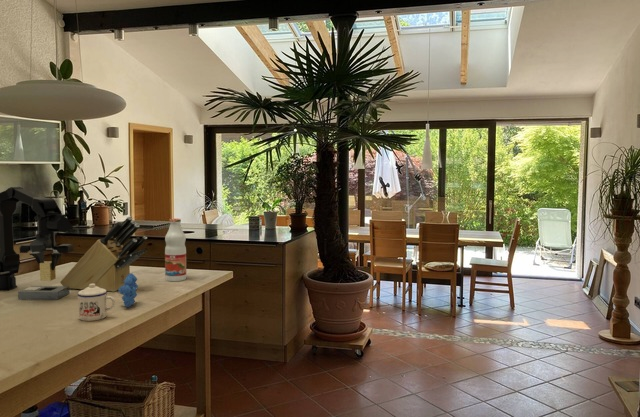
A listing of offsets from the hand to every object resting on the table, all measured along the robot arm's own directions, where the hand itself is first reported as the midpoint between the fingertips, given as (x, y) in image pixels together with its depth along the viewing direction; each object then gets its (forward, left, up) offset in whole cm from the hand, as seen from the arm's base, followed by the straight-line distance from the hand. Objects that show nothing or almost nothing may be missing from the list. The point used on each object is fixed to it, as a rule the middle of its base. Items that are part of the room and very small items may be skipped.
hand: (47, 270), depth 201 cm
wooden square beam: (0, 0, -4) cm, 4 cm away
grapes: (+36, -13, -11) cm, 40 cm away
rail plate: (-2, 0, -11) cm, 11 cm away
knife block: (+17, +14, -11) cm, 24 cm away
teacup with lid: (+31, -28, -11) cm, 43 cm away
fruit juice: (+42, +32, -11) cm, 54 cm away
